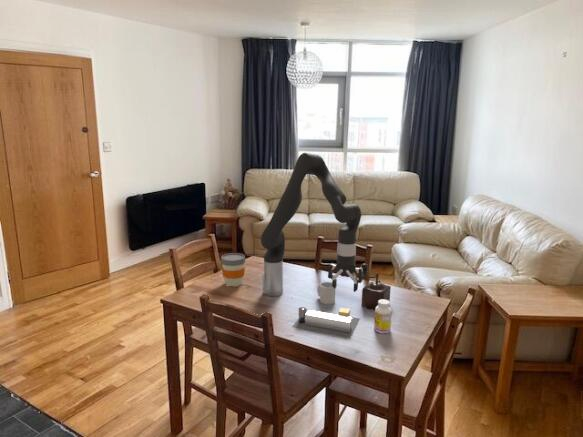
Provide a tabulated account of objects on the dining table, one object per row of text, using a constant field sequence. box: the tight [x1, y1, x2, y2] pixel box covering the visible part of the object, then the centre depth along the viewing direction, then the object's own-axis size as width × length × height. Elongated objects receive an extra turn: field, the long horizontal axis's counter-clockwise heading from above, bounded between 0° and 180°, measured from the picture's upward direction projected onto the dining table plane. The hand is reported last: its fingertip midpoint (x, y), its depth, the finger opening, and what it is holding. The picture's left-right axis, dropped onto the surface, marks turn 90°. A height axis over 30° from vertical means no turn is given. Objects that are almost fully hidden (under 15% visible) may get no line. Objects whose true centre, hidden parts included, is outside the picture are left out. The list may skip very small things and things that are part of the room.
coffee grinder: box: [359, 263, 392, 312], centre depth 199 cm, size 16×11×18 cm
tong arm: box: [307, 309, 353, 329], centre depth 179 cm, size 19×2×4 cm, turn 69°
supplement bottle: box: [373, 299, 393, 334], centre depth 175 cm, size 7×7×13 cm
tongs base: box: [298, 306, 351, 332], centre depth 178 cm, size 23×4×6 cm, turn 69°
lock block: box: [338, 307, 351, 317], centre depth 180 cm, size 4×4×6 cm
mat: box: [291, 308, 361, 339], centre depth 182 cm, size 25×18×1 cm
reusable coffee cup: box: [220, 252, 246, 287], centre depth 222 cm, size 13×13×15 cm
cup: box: [317, 281, 336, 305], centre depth 203 cm, size 7×10×9 cm
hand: (344, 289), depth 178 cm, fingers open, 8 cm apart
